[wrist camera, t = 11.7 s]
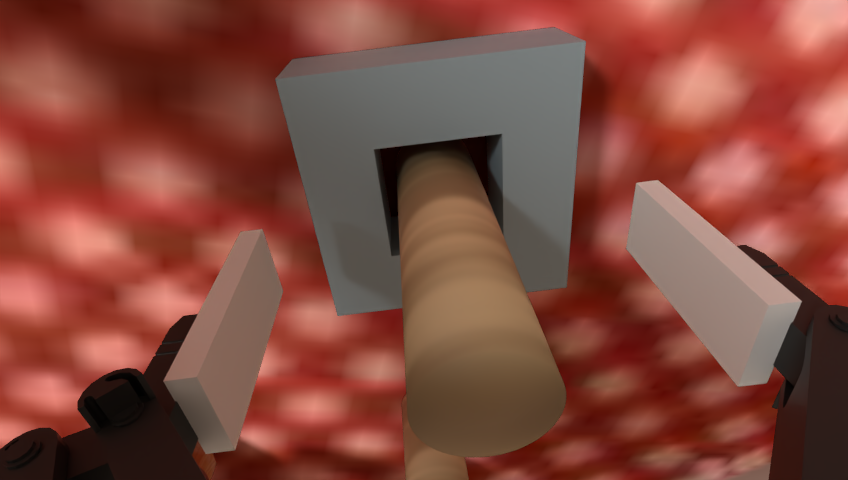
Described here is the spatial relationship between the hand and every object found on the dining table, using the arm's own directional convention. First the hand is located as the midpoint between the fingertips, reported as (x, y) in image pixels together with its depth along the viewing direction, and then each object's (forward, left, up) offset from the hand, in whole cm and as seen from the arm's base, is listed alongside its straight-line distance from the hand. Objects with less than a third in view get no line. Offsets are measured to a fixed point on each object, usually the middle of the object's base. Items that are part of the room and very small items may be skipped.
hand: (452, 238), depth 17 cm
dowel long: (0, 0, -7) cm, 7 cm away
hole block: (0, 0, -7) cm, 7 cm away
